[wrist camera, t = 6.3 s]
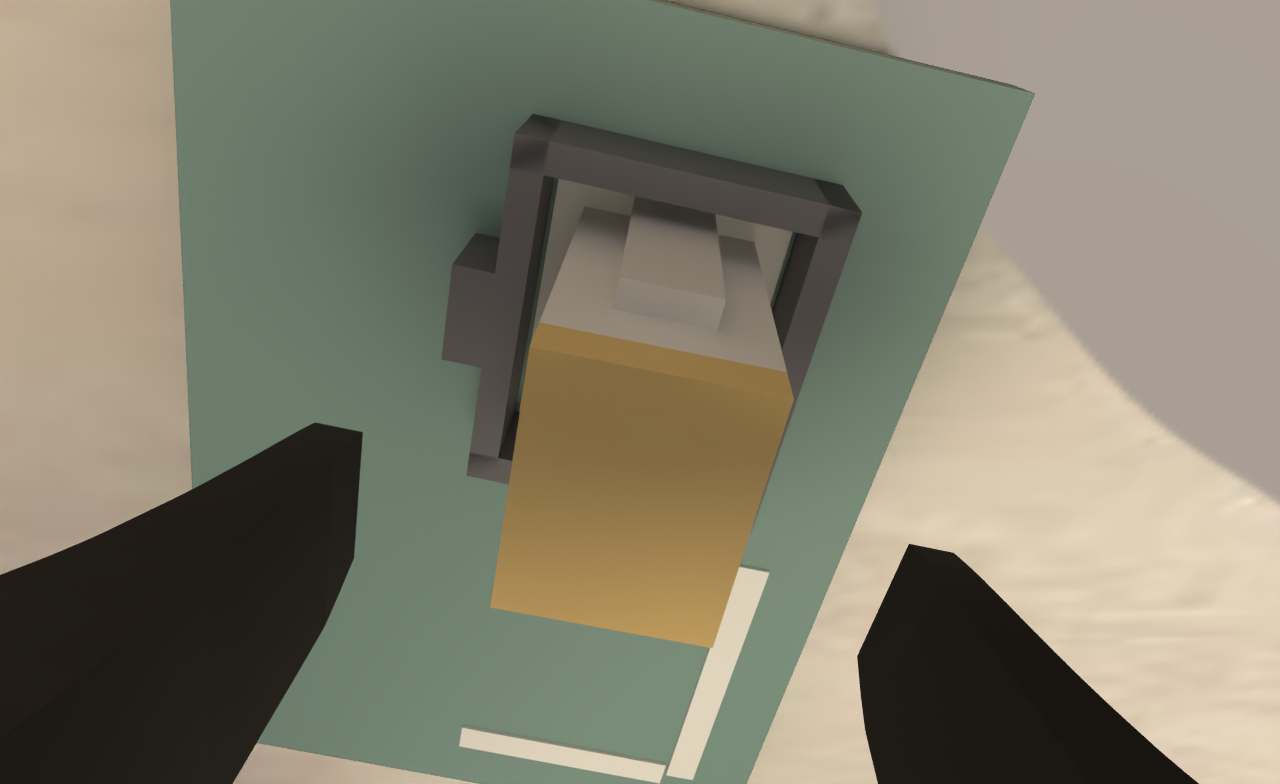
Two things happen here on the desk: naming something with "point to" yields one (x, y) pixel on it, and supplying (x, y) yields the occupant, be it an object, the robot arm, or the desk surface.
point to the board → (510, 313)
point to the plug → (643, 428)
